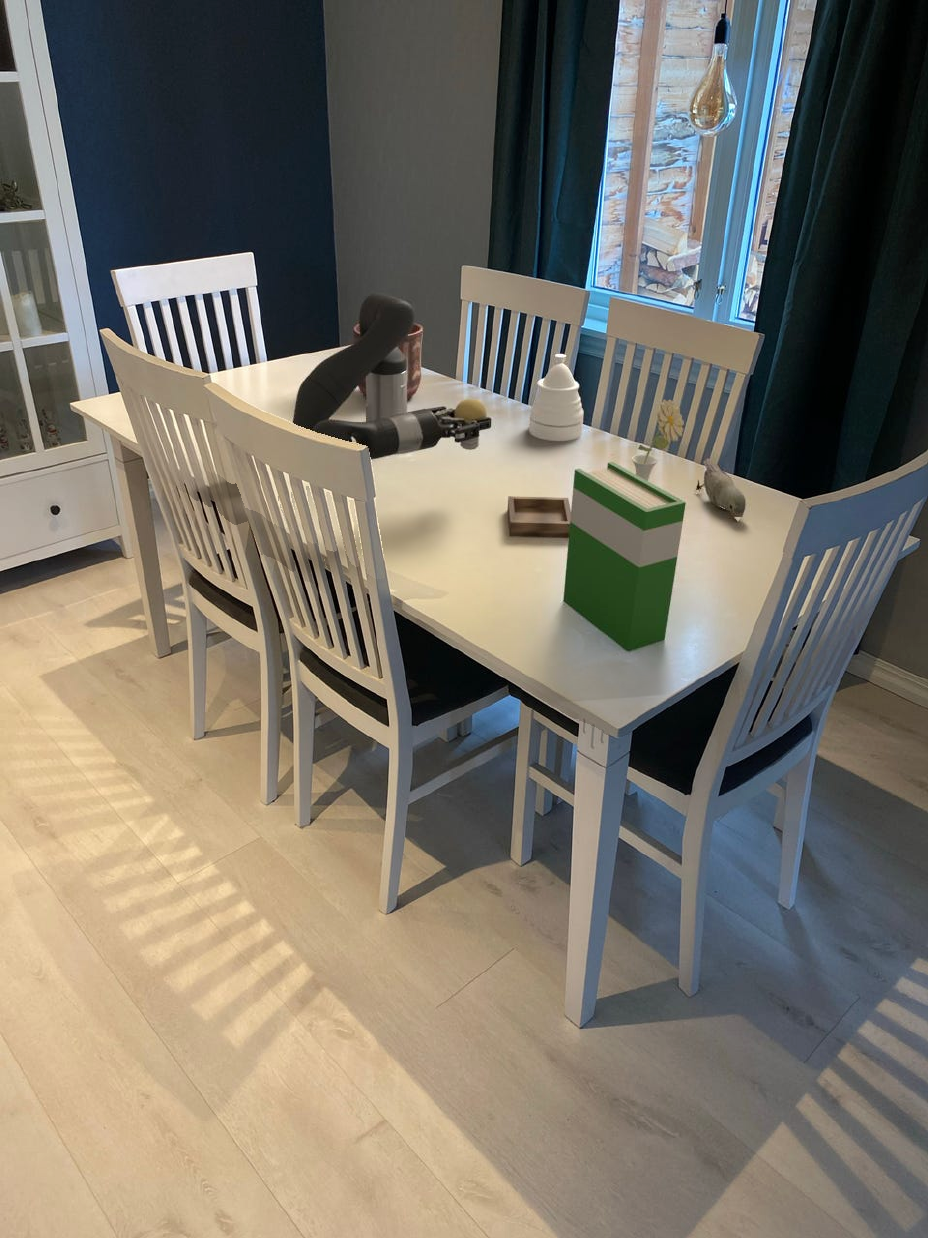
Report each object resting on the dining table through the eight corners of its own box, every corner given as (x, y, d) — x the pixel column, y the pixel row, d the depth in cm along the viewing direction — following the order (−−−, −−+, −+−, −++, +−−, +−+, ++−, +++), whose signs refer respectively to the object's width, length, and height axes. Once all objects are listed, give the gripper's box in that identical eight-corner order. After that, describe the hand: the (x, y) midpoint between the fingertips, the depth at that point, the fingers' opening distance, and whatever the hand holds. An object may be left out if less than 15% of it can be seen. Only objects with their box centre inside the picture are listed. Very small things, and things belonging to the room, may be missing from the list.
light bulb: (490, 445, 198) (492, 397, 193) (477, 455, 193) (478, 407, 188) (462, 439, 200) (463, 392, 195) (448, 449, 195) (449, 401, 190)
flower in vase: (629, 542, 184) (645, 415, 171) (596, 518, 193) (608, 396, 180) (684, 529, 189) (703, 405, 176) (649, 507, 198) (665, 387, 185)
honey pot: (528, 421, 240) (532, 349, 231) (580, 423, 240) (586, 350, 231) (529, 440, 229) (534, 364, 220) (583, 442, 229) (590, 366, 220)
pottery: (420, 408, 246) (421, 337, 237) (352, 406, 246) (349, 335, 237) (424, 387, 261) (424, 319, 252) (359, 385, 261) (357, 317, 252)
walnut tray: (509, 536, 185) (510, 522, 183) (507, 509, 195) (508, 496, 194) (572, 538, 185) (573, 523, 183) (567, 511, 195) (568, 497, 194)
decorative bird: (726, 524, 192) (733, 489, 188) (690, 492, 205) (695, 459, 202) (750, 522, 193) (757, 487, 190) (713, 490, 207) (718, 457, 203)
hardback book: (563, 601, 164) (574, 469, 152) (598, 591, 167) (612, 461, 155) (627, 651, 151) (646, 512, 139) (664, 640, 154) (685, 502, 142)
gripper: (390, 439, 193) (459, 424, 201) (430, 462, 183) (500, 445, 191) (390, 402, 189) (460, 389, 198) (430, 424, 179) (502, 409, 188)
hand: (479, 417), depth 194 cm, fingers closed on light bulb, 6 cm apart
